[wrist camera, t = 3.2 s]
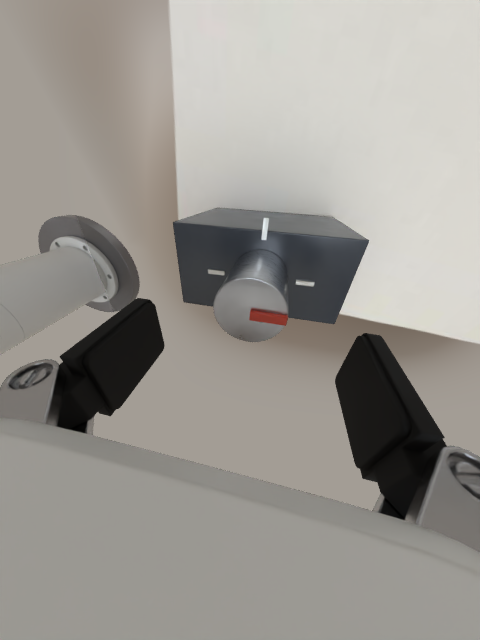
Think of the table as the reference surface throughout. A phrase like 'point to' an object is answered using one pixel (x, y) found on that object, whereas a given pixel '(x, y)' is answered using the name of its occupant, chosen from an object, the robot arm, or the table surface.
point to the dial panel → (279, 238)
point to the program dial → (254, 297)
